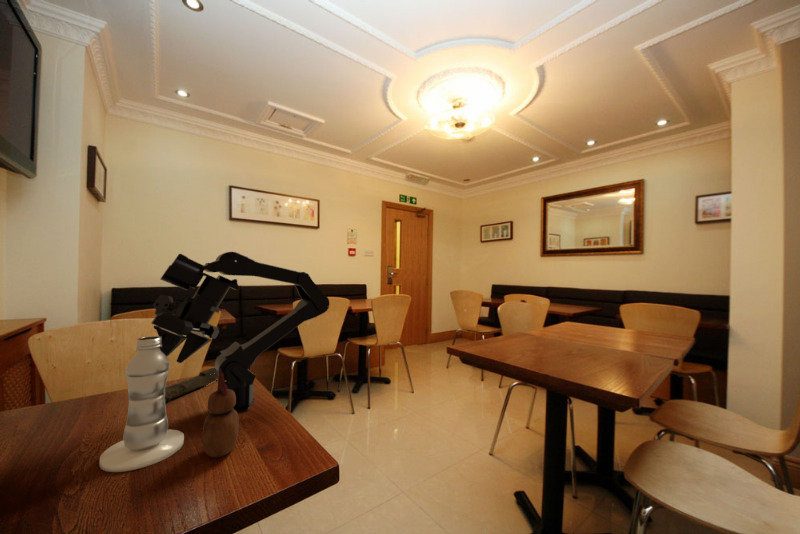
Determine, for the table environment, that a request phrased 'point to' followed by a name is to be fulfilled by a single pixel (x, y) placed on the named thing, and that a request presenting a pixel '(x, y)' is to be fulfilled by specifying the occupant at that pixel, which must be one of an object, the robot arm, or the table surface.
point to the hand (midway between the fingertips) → (167, 363)
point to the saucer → (140, 454)
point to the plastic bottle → (146, 395)
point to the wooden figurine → (221, 421)
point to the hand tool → (191, 384)
